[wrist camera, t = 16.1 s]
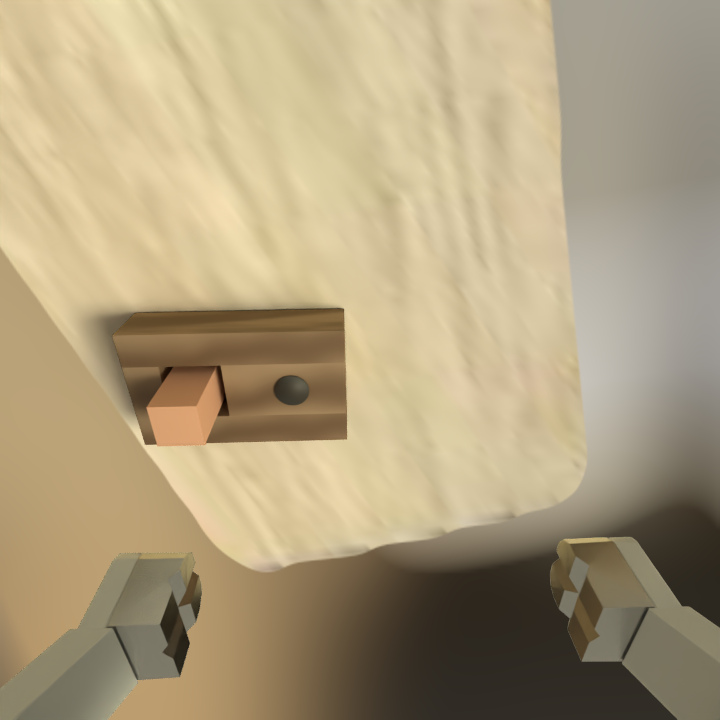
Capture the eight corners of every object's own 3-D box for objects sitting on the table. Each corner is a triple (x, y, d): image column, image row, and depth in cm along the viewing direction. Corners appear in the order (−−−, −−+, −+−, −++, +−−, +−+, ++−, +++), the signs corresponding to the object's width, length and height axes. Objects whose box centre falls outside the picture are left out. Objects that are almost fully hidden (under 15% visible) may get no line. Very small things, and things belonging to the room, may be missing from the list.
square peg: (184, 350, 45) (146, 407, 36) (224, 349, 45) (196, 406, 37) (192, 383, 47) (157, 446, 38) (230, 383, 47) (204, 444, 38)
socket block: (135, 312, 43) (111, 336, 39) (343, 308, 44) (343, 331, 39) (163, 414, 49) (144, 446, 45) (346, 410, 50) (346, 440, 45)
